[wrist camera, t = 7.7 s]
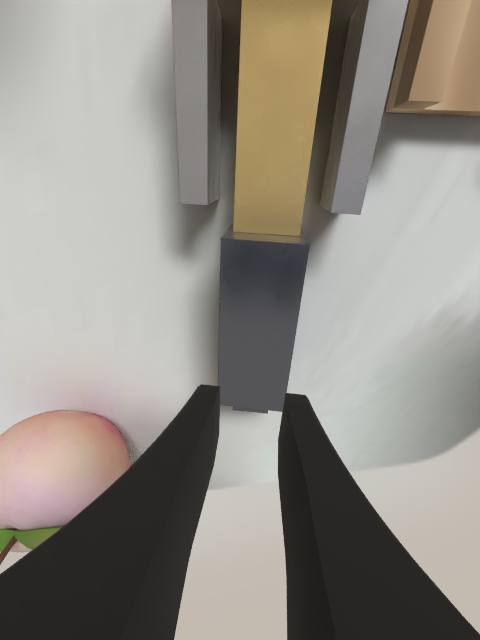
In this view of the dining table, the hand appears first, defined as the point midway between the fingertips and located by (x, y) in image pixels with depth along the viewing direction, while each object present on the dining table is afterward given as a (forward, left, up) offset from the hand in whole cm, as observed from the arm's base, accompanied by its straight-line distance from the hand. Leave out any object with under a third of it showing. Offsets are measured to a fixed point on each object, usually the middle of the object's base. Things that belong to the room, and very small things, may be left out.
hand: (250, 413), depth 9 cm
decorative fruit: (+13, +11, -10) cm, 20 cm away
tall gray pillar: (0, 0, -10) cm, 10 cm away
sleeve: (0, -9, -9) cm, 13 cm away
